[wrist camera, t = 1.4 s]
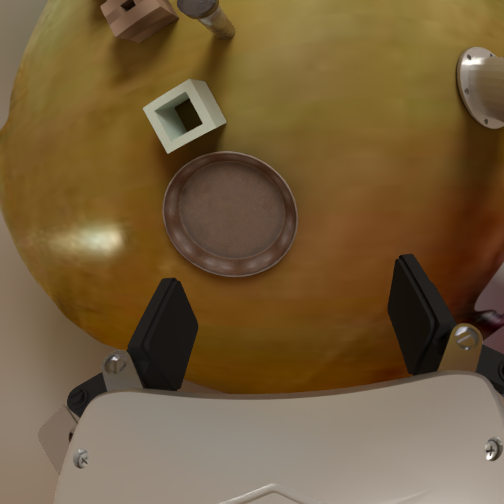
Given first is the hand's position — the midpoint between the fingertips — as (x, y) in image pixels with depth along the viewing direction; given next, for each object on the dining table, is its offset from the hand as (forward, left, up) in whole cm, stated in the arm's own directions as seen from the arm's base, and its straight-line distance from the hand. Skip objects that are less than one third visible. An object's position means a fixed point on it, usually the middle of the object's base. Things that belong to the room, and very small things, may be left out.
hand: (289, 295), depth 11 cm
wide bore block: (+7, -10, -24) cm, 27 cm away
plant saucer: (+9, +4, -25) cm, 27 cm away
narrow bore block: (+6, -26, -24) cm, 36 cm away
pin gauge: (-1, -18, -24) cm, 30 cm away
